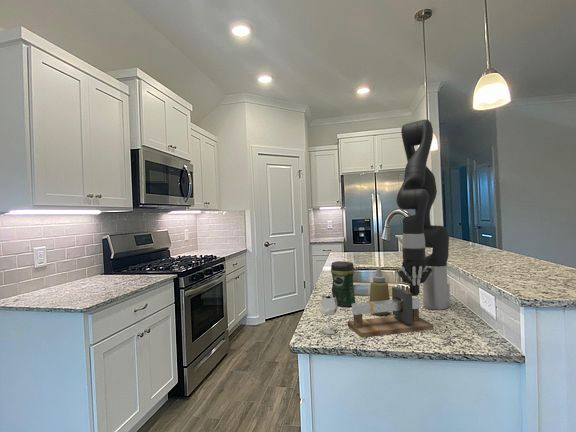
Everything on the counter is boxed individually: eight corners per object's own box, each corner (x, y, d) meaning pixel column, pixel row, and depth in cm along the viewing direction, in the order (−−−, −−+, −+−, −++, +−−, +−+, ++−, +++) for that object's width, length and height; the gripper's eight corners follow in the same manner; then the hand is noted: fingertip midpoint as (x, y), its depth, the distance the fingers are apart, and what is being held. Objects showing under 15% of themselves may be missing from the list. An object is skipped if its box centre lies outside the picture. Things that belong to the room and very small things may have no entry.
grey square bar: (414, 306, 124) (414, 296, 124) (420, 309, 121) (420, 299, 120) (351, 312, 119) (351, 302, 119) (355, 315, 116) (355, 305, 116)
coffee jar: (358, 303, 150) (356, 261, 149) (349, 308, 143) (347, 263, 143) (338, 300, 156) (337, 259, 155) (329, 304, 149) (327, 262, 149)
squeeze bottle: (376, 308, 141) (375, 265, 141) (394, 312, 136) (393, 267, 135) (365, 313, 136) (364, 268, 135) (383, 318, 130) (382, 270, 129)
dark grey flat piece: (397, 314, 126) (396, 286, 126) (412, 322, 116) (412, 293, 116) (392, 314, 126) (391, 287, 126) (407, 323, 116) (406, 293, 116)
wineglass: (334, 335, 114) (332, 299, 114) (318, 332, 117) (317, 297, 117) (340, 330, 119) (339, 295, 118) (325, 327, 122) (324, 293, 122)
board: (413, 318, 129) (413, 302, 129) (433, 329, 117) (433, 311, 117) (347, 325, 123) (347, 308, 123) (361, 337, 112) (360, 319, 112)
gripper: (424, 244, 126) (425, 291, 127) (391, 246, 124) (392, 294, 124) (437, 246, 119) (438, 296, 120) (402, 248, 116) (403, 299, 117)
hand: (414, 295), depth 122 cm, fingers closed
